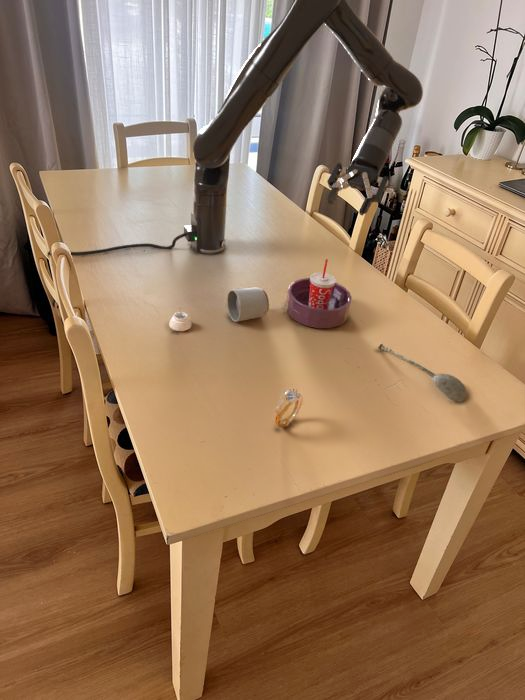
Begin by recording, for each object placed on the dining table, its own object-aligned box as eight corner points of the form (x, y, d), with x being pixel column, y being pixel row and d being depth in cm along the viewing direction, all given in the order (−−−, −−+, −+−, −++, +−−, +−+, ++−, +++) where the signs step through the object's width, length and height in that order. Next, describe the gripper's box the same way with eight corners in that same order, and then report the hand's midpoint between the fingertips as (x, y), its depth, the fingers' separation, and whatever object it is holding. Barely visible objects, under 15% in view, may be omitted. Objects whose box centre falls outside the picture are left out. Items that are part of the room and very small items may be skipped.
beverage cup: (303, 314, 126) (312, 263, 117) (306, 301, 131) (314, 251, 122) (328, 318, 125) (339, 267, 117) (330, 305, 130) (340, 256, 122)
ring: (292, 411, 99) (297, 380, 94) (304, 420, 97) (310, 389, 93) (266, 428, 95) (271, 396, 90) (279, 438, 93) (284, 406, 88)
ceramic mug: (269, 321, 123) (272, 293, 118) (238, 328, 119) (240, 299, 115) (249, 300, 130) (252, 272, 126) (220, 305, 127) (221, 277, 122)
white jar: (195, 326, 118) (180, 317, 121) (196, 315, 117) (180, 306, 119) (179, 335, 115) (164, 325, 118) (179, 324, 113) (164, 315, 116)
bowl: (302, 334, 120) (306, 314, 117) (275, 300, 131) (278, 281, 128) (358, 324, 126) (363, 305, 122) (328, 292, 137) (331, 274, 133)
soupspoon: (455, 409, 105) (470, 397, 109) (462, 397, 103) (476, 385, 107) (370, 353, 116) (386, 344, 120) (374, 341, 114) (391, 332, 118)
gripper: (345, 136, 127) (316, 193, 126) (399, 150, 122) (369, 209, 120) (349, 153, 134) (322, 207, 133) (401, 167, 129) (373, 224, 127)
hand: (345, 208), depth 127 cm, fingers open, 8 cm apart
